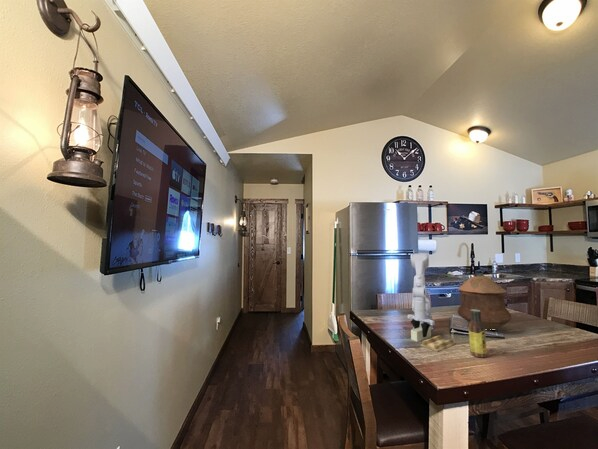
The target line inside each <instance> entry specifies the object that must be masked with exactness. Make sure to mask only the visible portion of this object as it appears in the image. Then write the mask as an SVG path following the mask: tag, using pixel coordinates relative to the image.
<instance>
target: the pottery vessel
mask: <svg viewBox="0 0 598 449" xmlns="http://www.w3.org/2000/svg"><path fill="white" fill-rule="evenodd" d="M457 290H458V291H459V294H460V301H461V302H460V303H461V305H460V306H458V309H457V314H458V315H459V317H460V318H462V319H464V321H466V322H468V324H469V323H470V321H471V313H470V310H471V309H476V310H480V311H481V321H482V324H483V326H484V328H485V329H487V330H490V329H491V330H492V329H496V330H497V329H498V328H500V327H502V326H505V325H506V324H508V323H510V321H512V318H513V317H512V315H511V312H510V311H509V310H508V308H507V307H506V302H505V294H506V293H507V292H508V291H507V290H506V289H504V288H503V287H501V286H500V285H499V284H498V283H497V282H495V280H493V279H492V278H490V277H488V276H483V275H482V276H481V275H479V276H470V277H469V278H468V279H467V280H466V281H464V282H463V283H462V284H461V285H460V286H459V287H457Z"/></svg>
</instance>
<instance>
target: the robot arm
mask: <svg viewBox="0 0 598 449" xmlns="http://www.w3.org/2000/svg"><path fill="white" fill-rule="evenodd" d="M429 257H430V256H429V254H428V253H411V254H410V264H411V267H412V268H413V269H415V275H414V277H413V287H412V297H413V298H412V304H411V306H412V307H411V308H412V310H411V311H412V312H413V313H414V314H409V313H408V314H407V319H409V320H411V321H410V324H411V325H412V329H416V328H419V327H422V332H423V337H426V336H427V332H428V329H429V327H431V331H433V330H434V329H435V328H434V327H433V326H435V324H436V323H435V320H433V316H432V314H431V313H432V308H431V307H432V306H431V300H430V299H429V298H428V297H427V288H426V278H425V271H426V269H428V268H429V266H430V259H429Z"/></svg>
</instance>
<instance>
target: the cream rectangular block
mask: <svg viewBox="0 0 598 449" xmlns="http://www.w3.org/2000/svg"><path fill="white" fill-rule="evenodd" d="M410 338H411V339H410V340H412V341H414V342H420V341H424V340H427V339H430V338H432V330H431V327H429V329H428V332H427V336H426V337H423V332H422V327H419V328H416V329H413V328H412V329H410Z"/></svg>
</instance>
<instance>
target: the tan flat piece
mask: <svg viewBox="0 0 598 449" xmlns="http://www.w3.org/2000/svg"><path fill="white" fill-rule="evenodd" d="M420 346H421V347H423V348H427V349H429V350H432V351H434V352H436V353H438V352H441V351H443V350H445V349H448V348H450V347H452V346H456V343H455V342H454V339H451V338H449V339H443V338H442V336H441V335H436V336H433V337H432V336H431V337H430V338H427V339H424V340H422V343H421V344H420Z"/></svg>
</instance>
